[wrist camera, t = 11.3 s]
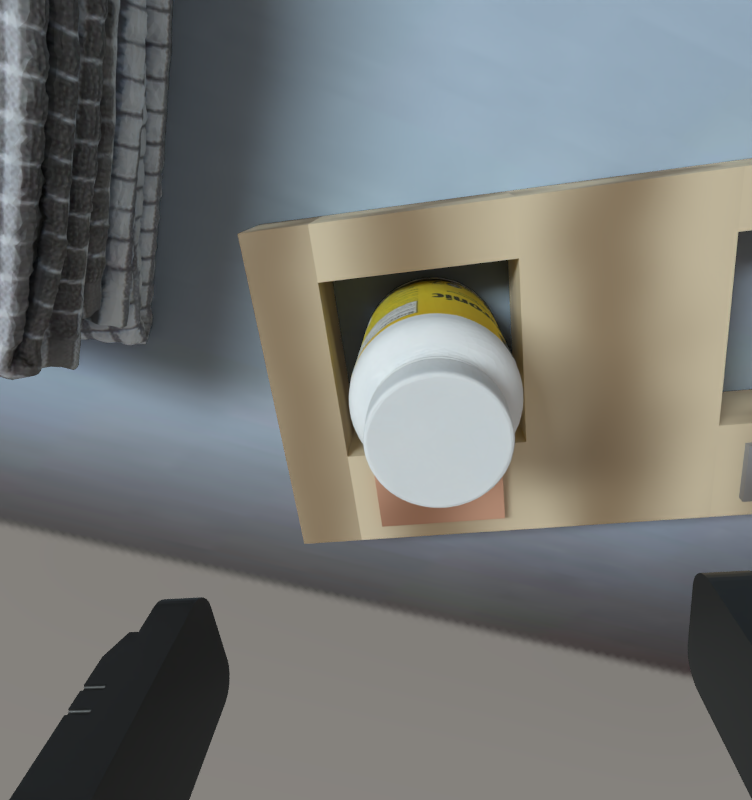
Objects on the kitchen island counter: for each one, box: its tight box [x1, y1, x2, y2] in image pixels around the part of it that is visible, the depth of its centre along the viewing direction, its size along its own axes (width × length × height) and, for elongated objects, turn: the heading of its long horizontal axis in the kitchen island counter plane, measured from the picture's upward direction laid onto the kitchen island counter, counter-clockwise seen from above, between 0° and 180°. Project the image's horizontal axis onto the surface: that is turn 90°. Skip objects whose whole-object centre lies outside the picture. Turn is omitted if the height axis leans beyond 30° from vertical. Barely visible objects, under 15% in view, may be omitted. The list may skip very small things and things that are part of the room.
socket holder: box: [238, 158, 752, 544], centre depth 22 cm, size 26×13×3 cm, turn 98°
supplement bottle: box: [349, 278, 523, 508], centre depth 20 cm, size 5×5×10 cm
